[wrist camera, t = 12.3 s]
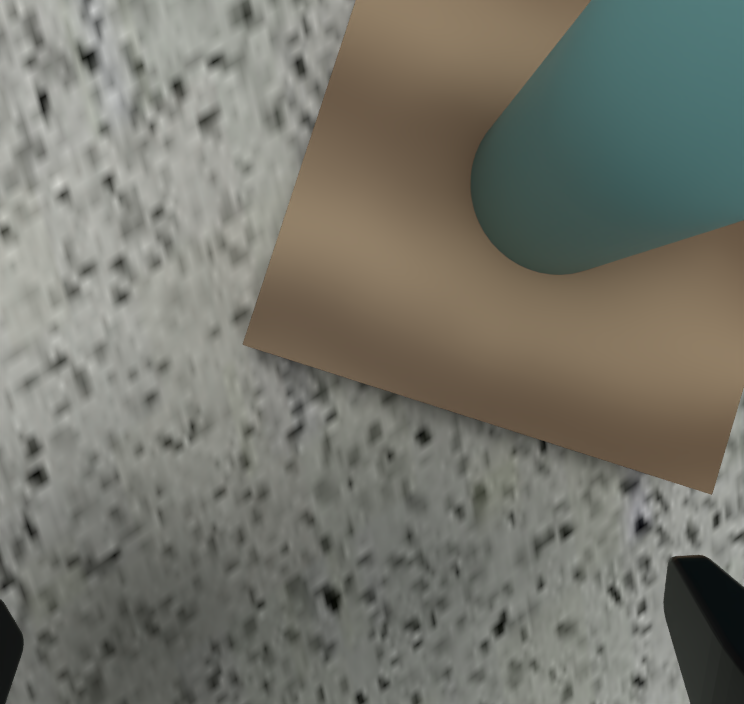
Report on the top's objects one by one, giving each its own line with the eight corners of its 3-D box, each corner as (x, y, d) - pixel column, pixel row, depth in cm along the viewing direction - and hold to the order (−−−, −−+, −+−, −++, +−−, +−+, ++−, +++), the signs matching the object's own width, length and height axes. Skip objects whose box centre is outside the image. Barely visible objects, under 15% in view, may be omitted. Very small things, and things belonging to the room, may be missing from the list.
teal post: (655, 259, 18) (1462, 29, 6) (487, 288, 18) (943, 110, 5) (625, 87, 18) (1369, -551, 6) (456, 111, 18) (836, -524, 5)
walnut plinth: (648, 473, 22) (711, 494, 19) (253, 347, 21) (242, 344, 17) (763, 90, 23) (846, 41, 19) (385, -56, 21) (400, -136, 18)
